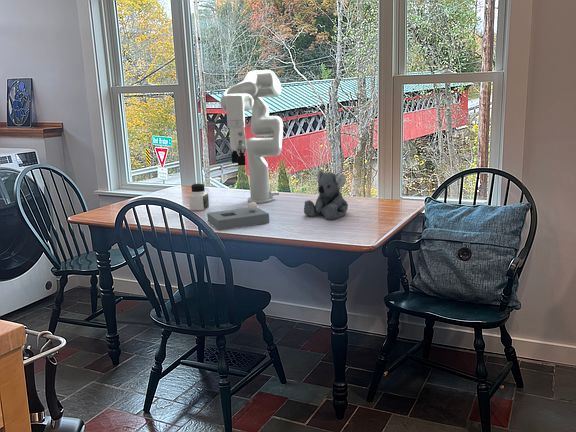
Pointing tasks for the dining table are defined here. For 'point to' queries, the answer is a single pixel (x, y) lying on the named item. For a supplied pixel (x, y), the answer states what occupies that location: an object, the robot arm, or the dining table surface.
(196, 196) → the medicine bottle
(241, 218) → the grey flat block
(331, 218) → the koala plush
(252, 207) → the ball
